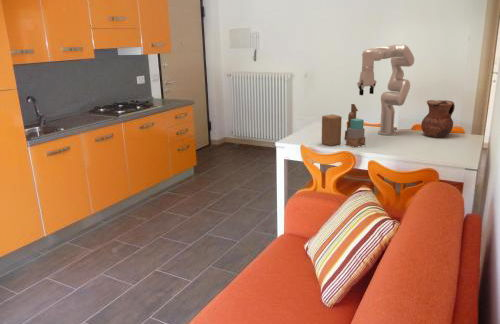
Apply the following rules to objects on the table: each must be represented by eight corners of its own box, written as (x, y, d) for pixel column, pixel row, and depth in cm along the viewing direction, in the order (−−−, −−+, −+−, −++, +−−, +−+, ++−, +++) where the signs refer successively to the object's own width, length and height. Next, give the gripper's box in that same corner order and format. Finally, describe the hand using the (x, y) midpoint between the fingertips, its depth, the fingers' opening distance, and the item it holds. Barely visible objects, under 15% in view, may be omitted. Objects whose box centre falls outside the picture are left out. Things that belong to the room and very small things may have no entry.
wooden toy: (353, 140, 294) (354, 106, 286) (344, 139, 298) (345, 105, 290) (362, 136, 304) (364, 102, 297) (354, 135, 309) (356, 102, 301)
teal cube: (356, 127, 282) (357, 118, 280) (363, 128, 277) (363, 119, 275) (350, 128, 279) (350, 119, 277) (356, 129, 274) (357, 120, 272)
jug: (443, 140, 285) (447, 104, 278) (414, 135, 300) (417, 102, 293) (457, 134, 299) (461, 100, 291) (429, 130, 314) (432, 98, 307)
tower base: (355, 143, 287) (355, 134, 285) (365, 145, 280) (365, 137, 278) (346, 145, 283) (346, 136, 281) (355, 147, 275) (355, 139, 274)
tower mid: (355, 135, 285) (355, 126, 283) (364, 137, 278) (364, 128, 276) (347, 136, 281) (347, 128, 279) (355, 138, 274) (356, 130, 272)
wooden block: (329, 146, 280) (330, 117, 274) (321, 143, 289) (321, 115, 283) (341, 144, 284) (342, 116, 279) (332, 141, 293) (332, 114, 287)
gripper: (372, 68, 283) (371, 92, 288) (354, 69, 274) (353, 95, 279) (380, 68, 276) (379, 93, 282) (362, 70, 268) (361, 96, 273)
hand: (366, 94), depth 280 cm, fingers open, 9 cm apart
